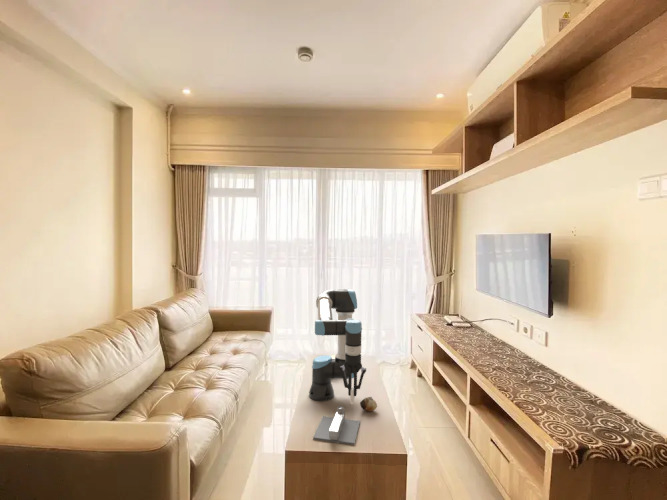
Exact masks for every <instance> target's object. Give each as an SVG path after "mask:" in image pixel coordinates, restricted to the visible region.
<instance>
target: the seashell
mask: <svg viewBox="0 0 667 500" xmlns="http://www.w3.org/2000/svg"><path fill="white" fill-rule="evenodd" d="M359 404H360V408H361V409H362V410H364V411H366V412H373V411H375V410H376V409H377V407H378V404H377V401H376V400H374V398H373V397H372V396H367V397H364V398H363V399H362V400H360V402H359Z"/></svg>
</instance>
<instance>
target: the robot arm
mask: <svg viewBox="0 0 667 500" xmlns="http://www.w3.org/2000/svg"><path fill="white" fill-rule="evenodd" d="M357 300H358V299H357V295H356V291H355V290H353V289H349V288H348V289H345V288H344V289H326V290H324V291H322V292H321V293H320V294H319V295H318V296H317V298H316V301H315V302H316V303H315V306H316V308H317V316H318V317H317V319H316V320H315V321H314V334H315V336H321V337H323V336H337V353H336V354H334V355H335V359H332V358H331V356H332V355H324V354H323V355H319V356H316V357H314V359H313V360H312V366H311V369H312V371H311V372H312V374H311V385H310V388H309V390H308V397H309V398H310V399H312V400H314V401H317V402H323V401H324V402H325V401H331V400H332V399H333V398H334V396H335V390H334V387H333V384H332V380H342V381H343V386H344V388H345V389H346V388H347V390H348V391H347V394H348V396H349V398H350V400H349V402H350V404H351V405H354V403H355V397H356V396H357V393H358V390H360V389H361V386H362V383H363V379H364V377H365V374H366V372H367V368H366V367H363V364H362V330H363V326H362V321H360V320H359V319H354V318H353V314H354V313H355V312H356V311H355V310H357V308H358V301H357ZM332 309H334V310H335V313H337V319H333V312H332ZM359 371H360V372H361V374H360V377H359V379H358V373H359ZM358 380H359V381H358ZM352 383H353V387H352Z"/></svg>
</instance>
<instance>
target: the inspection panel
mask: <svg viewBox="0 0 667 500" xmlns="http://www.w3.org/2000/svg"><path fill="white" fill-rule="evenodd" d="M334 417H335V416H334ZM334 417H333V416H326V415H322V417H321V420H320V422H319V424H318V425H317V428H316V431H315V432H314V435H313V437H312V440H315V441H321V442H322V441H323V442H328V443H336V444H342V445H351V446H355V445H356V442H357V436H358V433H359V428H360V425H361V420H356V419H351V418H345V419H344V422H343V425H342V428H341V431H340V434H339V437H338V440H334V439H329V430H330V427H331V425H332V422H333V419H334Z"/></svg>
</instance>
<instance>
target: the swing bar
mask: <svg viewBox="0 0 667 500" xmlns="http://www.w3.org/2000/svg"><path fill="white" fill-rule="evenodd" d="M345 411H346V408H345V406H342V405H339V406H337V407H336V412H335V415H334V419H333V422H332V425H331V427H330V430H329V439H334V440H338V437H339V434H340V431H341V428H342V425H343V422H344V419H346V418H345V413H346V412H345Z"/></svg>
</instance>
